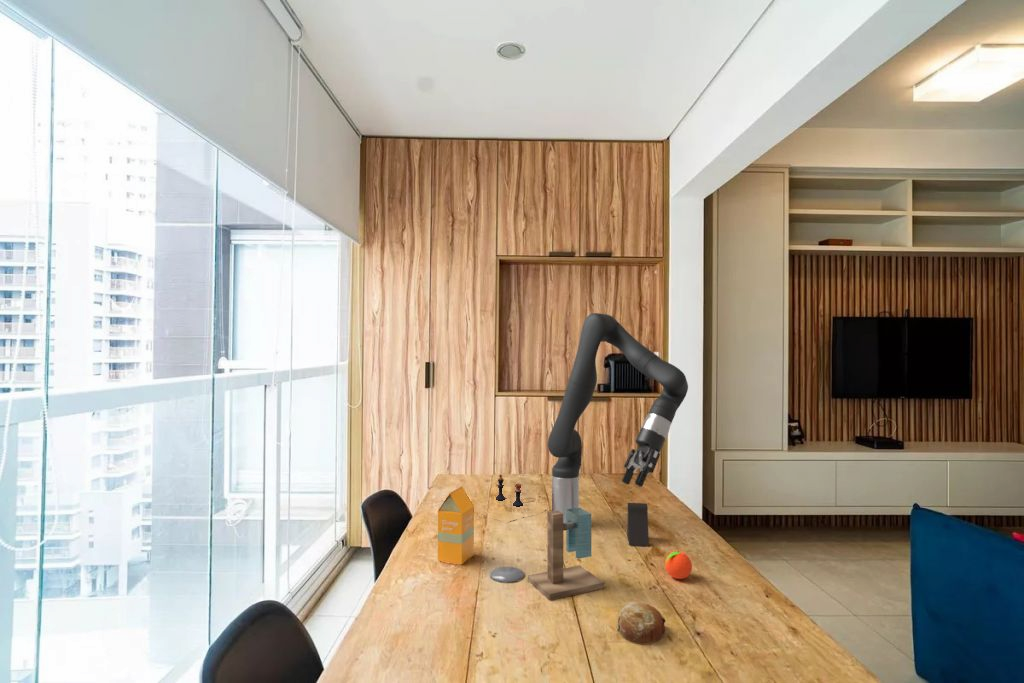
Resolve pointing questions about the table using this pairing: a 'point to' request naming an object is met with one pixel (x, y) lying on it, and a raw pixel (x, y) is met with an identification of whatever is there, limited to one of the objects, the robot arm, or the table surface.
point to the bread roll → (641, 623)
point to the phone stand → (637, 524)
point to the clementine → (678, 565)
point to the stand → (557, 578)
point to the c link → (579, 532)
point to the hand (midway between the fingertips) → (631, 484)
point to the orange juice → (456, 528)
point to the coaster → (506, 574)
